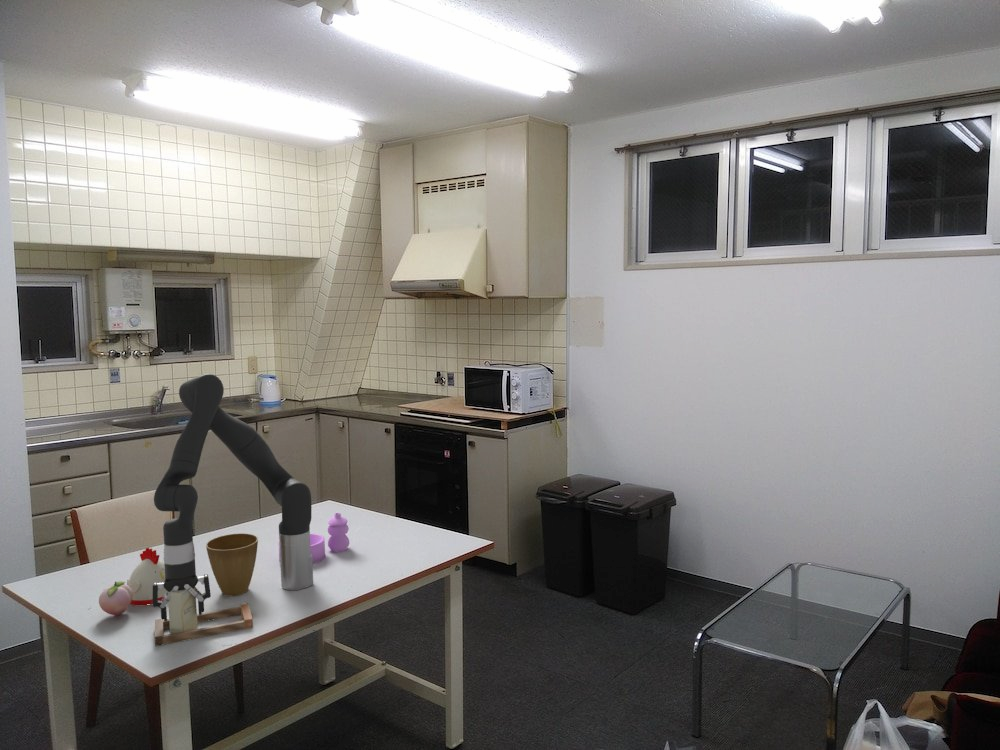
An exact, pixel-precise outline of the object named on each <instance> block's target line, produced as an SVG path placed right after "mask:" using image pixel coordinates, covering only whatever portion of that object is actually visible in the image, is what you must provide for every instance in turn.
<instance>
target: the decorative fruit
mask: <svg viewBox="0 0 1000 750" xmlns="http://www.w3.org/2000/svg"><path fill="white" fill-rule="evenodd" d="M132 597H133V591H132V589H131V588H130V587H129V586H128V585H127V583H126V582H125V581H122V580H119V581H114V584H111V585H108V586H107V587H106V588H103V590H102V591H101V593H100V594H99V597H98V604H99V607H100V608H101V610H102V611H103V612H105V613H106V614H108V615H112V616H116V617H117V616H121V615H122V614H123V613H125V611H126V610H127V609H128V608H129V606H131V605H130V603H131V600H132Z"/></svg>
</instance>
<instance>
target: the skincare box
mask: <svg viewBox="0 0 1000 750" xmlns="http://www.w3.org/2000/svg"><path fill="white" fill-rule="evenodd" d="M195 587H196V586H195ZM195 587H194V590H195ZM169 593H170V592H168V594H169ZM169 597H170V596H169ZM167 605H168V606H167V607H168V619H169V623H170V628H169V634H173V633H178V632H184V631H189V630H194V629H196V628H197V629H199V628H198V623H197V614H198V613H197V612H198V611H197V608H198V607H197V598H196V597H194V596H193V595H192V594H191V593H189V591H188V590H186V589H184V590H178V591H176V592H172V593H171V600H170V601H169V602H168V603H167Z"/></svg>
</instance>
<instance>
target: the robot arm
mask: <svg viewBox="0 0 1000 750" xmlns="http://www.w3.org/2000/svg"><path fill="white" fill-rule="evenodd" d="M224 390H225V389H224V385H223V381H222V380H221V379H220V378H219V377H218V376H217V375H215V374H211V373H205V374H202V375H199V376H196V377H193V378H191V379H189V380H187V381H184V382H183V383H182V384H181V385H180V387H179V389H178V396H179V398H180V401H181V403H182V405H183V406H184V407H185V408H186V409H187V410H188V411H189V412H190V413H191V415H190V418H189V419H188V422H187V423H186V425H185V427H184V429H183V430H182V432H181V434H180V435H179V437H178V439H177V441H176V444H175V445H174V448H173V452H172V456H171V460H170V464H169V467H168V469H167V470H166V472H165V474H164V476H163V478H162V479H161V481H160V482H159V484H158V485H157V487H156V489H155V492H154V495H153V502H154V503H153V504H154V506H155V508H156V509H157V510H158V511H159V512H160V511H161V512H179V516H178V518H177V517H176V518H172V519H168V520H167V521H165V522H164V524H163V527H162V528H163V563H164V567H165V581H164V583H157V582H154V583H153V605H152V607H153V608H159V609H160V619H163V620H164V621H167V619H168V613H167V612H168V611H167V605H168V602H169V601H170V600H171V593H172V592H176V591H178V590H184V589H186V590H188V591H189V593H191V594H192V595H193V596H194V597H196V600H197V603H198V604H197V608H198V614H199V615H202V613H205V600H206V599H210V598H211V595H212V594H211V588H210V587H211V586H210V579H209V574H207V573H204V575H202V576H197V572H196V570H197V569H196V553H195V544H194V535H193V534H194V533H193V521H194V517H195V513H196V509H197V505H198V499H199V495H198V492H197V489H196V488H195V487H194V486H193V485H191V484H180V483H181V482H183V481H186V480H190V479H193V478H195V477H196V475H197V473H198V470H199V469H198V468H199V465H200V460H201V457H202V453H203V448H204V444H205V443H206V438H207V435H208V433H209V431H210V430H211V432H213V434H214V435H215V436H216V437H217V438H218V439H219V441H221V443H223V444H224V445H225V446H226V448H227V449H228V450H229V451H230V452H231V454H233V456H234V457H235V458H236V459H237V460H238V461H239V462H240V463H241V464H242V465H243V466H244V467H245V468H246V469H247V470H249V472H251V473H252V474H253V475H254V476H256V477H257V478H258V479H259V480H260V481H261V483H262V484H263V485H264V487H266V489H267V490H268V492H269V493H270V495H271V496H272V497H273V499H274V500H275V502H276V503H277V504H278V505H279V506H280V507H281V521H280V522H279V523H278V540H279V541H278V546H279V545H280V561H279V563H280V564H279V565H280V566H279V567H280V583H281V584H280V585H281V588H282V589H284V590H287V591H297V590H302V589H306V588H308V587H311V586H314V571H313V569H314V568H313V567H314V566H313V565H314V564H312V555H311V549H310V534H311V533H310V532H311V528H310V526H311V521H312V494H311V490H310V488H309V486H308V485H307V484H305V483H304V482H302V481H301V480H298V479H296V478H295V477H294V476H293V475H291V474H290V473H289V472H288V471H287V470H286V469H285V468H284V467H283V466H281V464H280V463H279V461H278V460H277V458H276V457H275V454H274V453H273V451H272V449H271V447H270V446H269V444H268V443H267V441H266V440H265V439H264V438H263V437H262V436H261V435H260V433H259V432H258V431H257V430H256V429H255V428H254V427H252V426H251V425H250V424H248V423H247V422H244V421H242V420H240V419H239V418H237V417H235V416H233V415H231V414H229V413H228V412H227V411H225V410H224V409H222V407H221V406H220V404H221V402H222V399H223V397H224V394H225V393H224ZM198 583H200V584H201V585H204V592H203V593H202V592H201V591H200V590H199V589H198V588H197V587H196V586H197V584H198ZM162 587H164V588H165V589H166V590H167V593H166V594H165V596H164V598H163V599H162V600H161V601H158V592H160V591H161V588H162ZM194 587H195V590H194ZM168 592H170V593H169V594H168ZM169 596H170V597H169Z"/></svg>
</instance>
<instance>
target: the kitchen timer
mask: <svg viewBox="0 0 1000 750" xmlns="http://www.w3.org/2000/svg"><path fill="white" fill-rule="evenodd" d="M139 556H140V560H141V561H140V562H139V563H138V564H137V565H136V566H135V568H134V569H133V570H132V572H131V574H130V576H129V579H126V585H128V586H129V587H130V588H131V589H132V591H133V597H132V600H131V603H130V604H132V606H135V605H145V606H148V605H147V604H153V583H154V582H157V583H164V581H165V567H164V561H162V560H160V554H157V550H156V549H154V550H153V548H152V547H151V548H150V547H146V548H145V549H144V550H143V551H142V552H141V553H139ZM166 593H167V590H166V589H165V588H164V587H162V588H161V591H160V592H158V601H161V600H162V599H163V598H164V596H165V594H166Z"/></svg>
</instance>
